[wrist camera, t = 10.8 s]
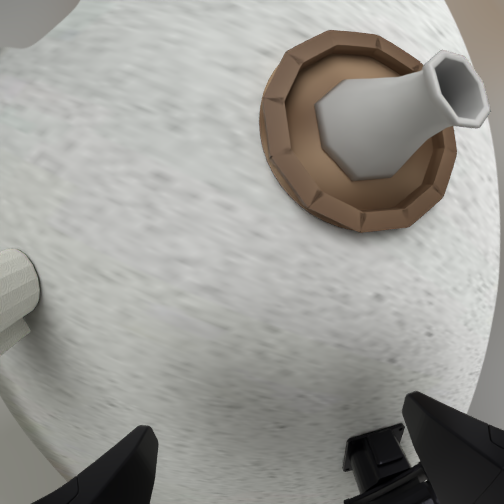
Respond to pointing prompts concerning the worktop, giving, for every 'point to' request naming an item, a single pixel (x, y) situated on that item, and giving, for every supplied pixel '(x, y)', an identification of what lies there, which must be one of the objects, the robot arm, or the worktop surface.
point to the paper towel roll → (16, 296)
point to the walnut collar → (315, 157)
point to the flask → (398, 114)
